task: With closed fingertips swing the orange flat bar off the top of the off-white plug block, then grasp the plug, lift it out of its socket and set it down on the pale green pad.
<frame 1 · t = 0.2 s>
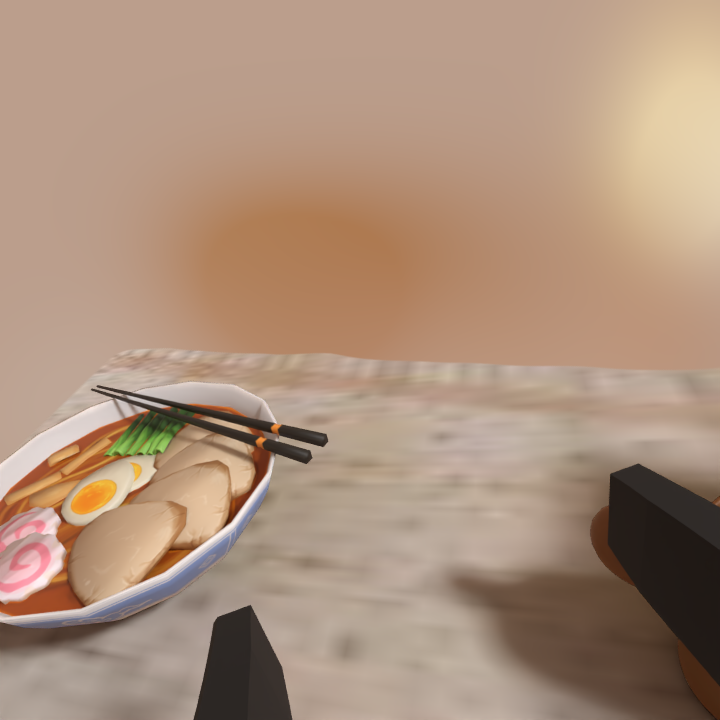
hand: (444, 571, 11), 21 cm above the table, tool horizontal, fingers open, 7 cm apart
ramen bowl: (157, 546, 43), on the table
mug: (710, 661, 29), on the table
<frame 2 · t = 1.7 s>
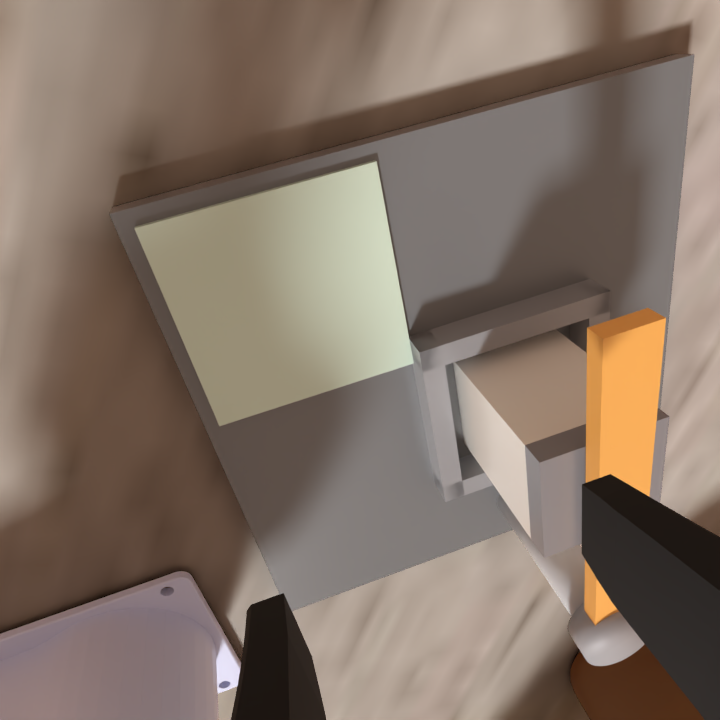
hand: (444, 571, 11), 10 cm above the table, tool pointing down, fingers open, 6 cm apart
mug: (640, 624, 35), on the table
orange flat bar: (615, 520, 16), point 7 cm above the table, hinge at 0.0°
plug: (506, 387, 22), point 1 cm above the table, touching socket board
socket board: (447, 371, 22), on the table
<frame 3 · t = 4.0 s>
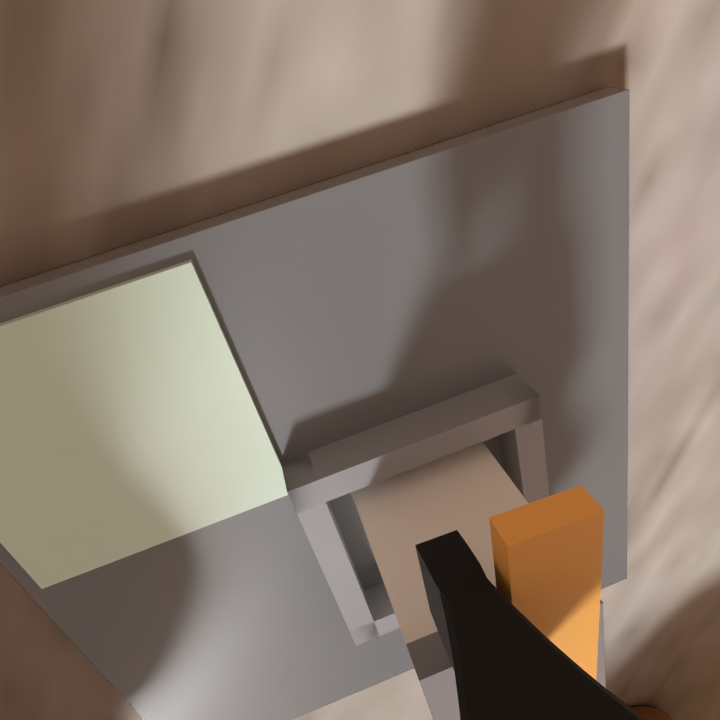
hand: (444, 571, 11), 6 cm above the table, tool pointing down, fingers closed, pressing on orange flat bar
mug: (629, 715, 30), on the table
plug: (424, 503, 17), point 1 cm above the table, touching socket board
socket board: (349, 487, 17), on the table
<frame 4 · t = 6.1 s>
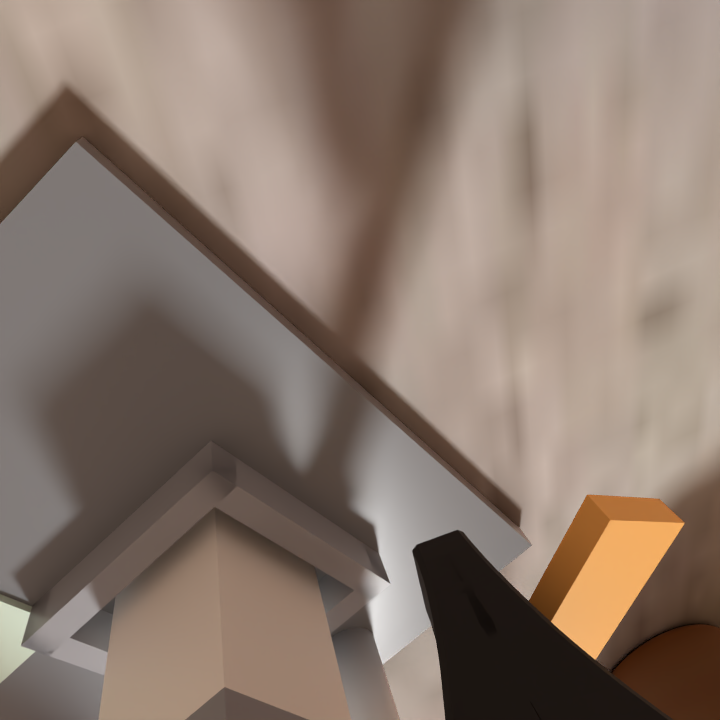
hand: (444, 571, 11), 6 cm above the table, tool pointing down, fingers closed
mug: (672, 637, 28), on the table
plug: (219, 578, 17), point 1 cm above the table, touching socket board
socket board: (146, 584, 17), on the table
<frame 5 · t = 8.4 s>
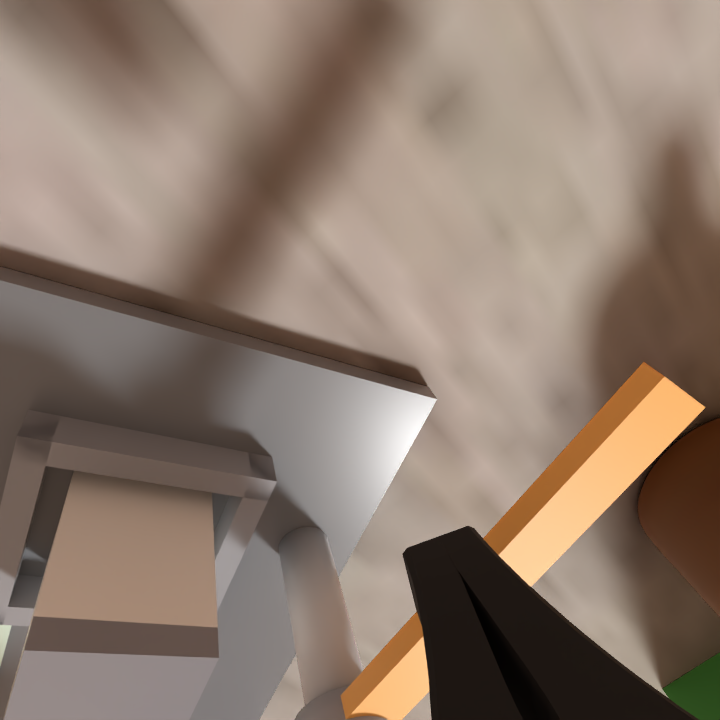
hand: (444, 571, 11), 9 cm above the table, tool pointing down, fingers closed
mug: (699, 439, 25), on the table
orange flat bar: (472, 599, 13), point 7 cm above the table, hinge at -101.3°
plug: (130, 522, 18), point 1 cm above the table, touching socket board
socket board: (85, 545, 19), on the table
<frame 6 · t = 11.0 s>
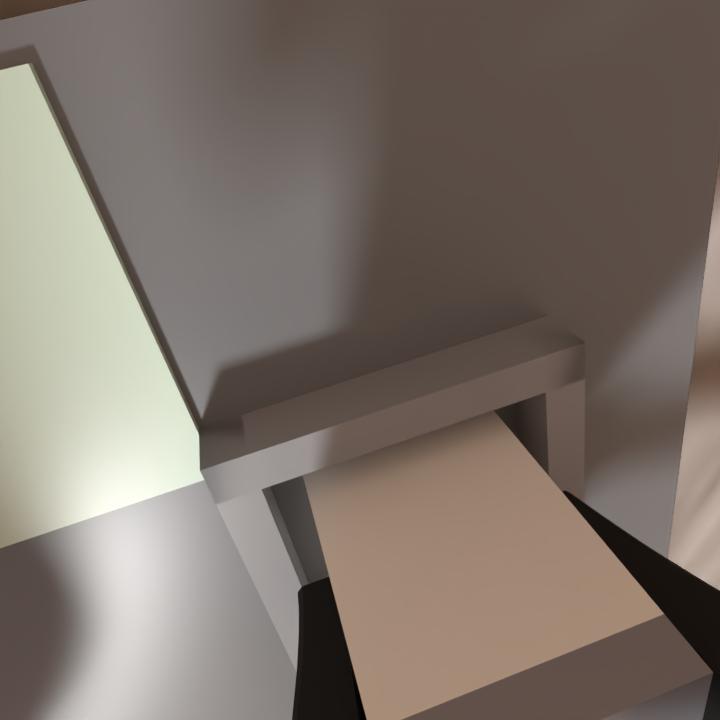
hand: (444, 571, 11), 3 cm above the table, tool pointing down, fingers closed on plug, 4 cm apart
plug: (409, 499, 12), point 1 cm above the table, touching gripper, socket board
socket board: (305, 473, 12), on the table
when the fingers open (4 cm above the table, at t = 14.1 s): plug stays where it is, resting on socket board.
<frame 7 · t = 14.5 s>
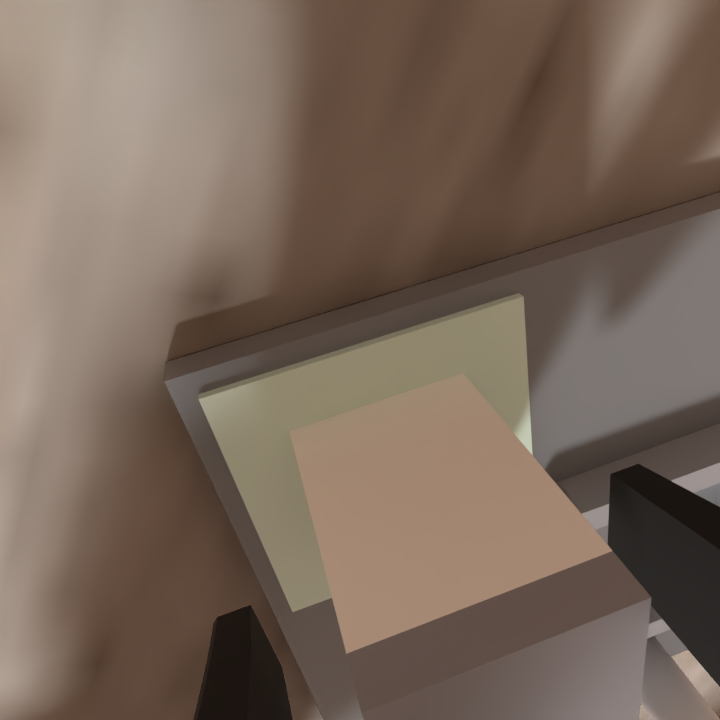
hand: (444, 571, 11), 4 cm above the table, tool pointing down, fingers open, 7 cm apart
plug: (393, 468, 13), point 1 cm above the table, touching socket board
socket board: (565, 515, 17), on the table
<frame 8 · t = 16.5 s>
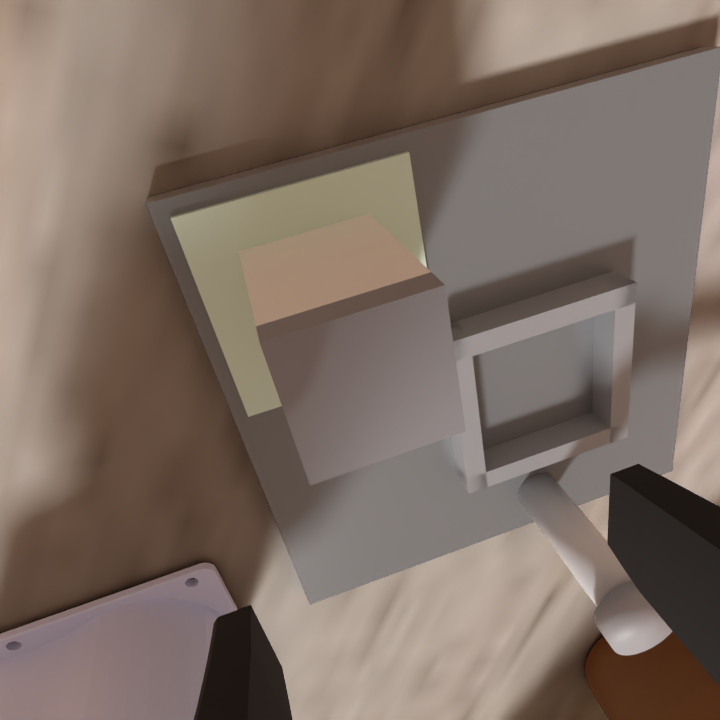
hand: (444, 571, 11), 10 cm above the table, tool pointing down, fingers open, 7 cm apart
mug: (654, 618, 35), on the table
plug: (320, 292, 18), point 1 cm above the table, touching socket board
socket board: (471, 363, 22), on the table
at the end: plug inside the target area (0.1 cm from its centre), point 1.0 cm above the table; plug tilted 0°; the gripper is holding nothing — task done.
